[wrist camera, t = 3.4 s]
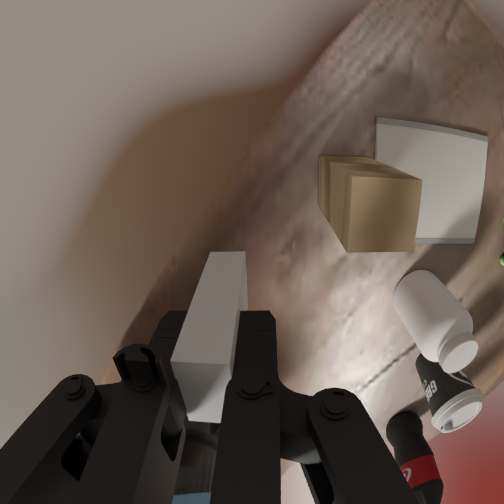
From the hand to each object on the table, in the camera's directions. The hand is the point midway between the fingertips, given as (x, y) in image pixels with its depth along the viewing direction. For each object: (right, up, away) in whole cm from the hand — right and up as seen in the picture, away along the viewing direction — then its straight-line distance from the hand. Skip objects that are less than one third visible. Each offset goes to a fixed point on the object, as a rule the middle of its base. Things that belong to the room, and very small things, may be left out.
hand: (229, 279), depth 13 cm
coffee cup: (+34, -18, +33) cm, 51 cm away
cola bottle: (+34, -36, +41) cm, 65 cm away
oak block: (+12, +10, +21) cm, 26 cm away
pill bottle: (+25, -5, +27) cm, 37 cm away
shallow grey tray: (+25, +10, +20) cm, 34 cm away
